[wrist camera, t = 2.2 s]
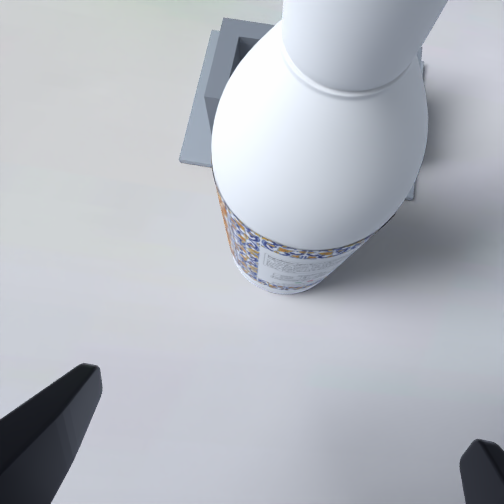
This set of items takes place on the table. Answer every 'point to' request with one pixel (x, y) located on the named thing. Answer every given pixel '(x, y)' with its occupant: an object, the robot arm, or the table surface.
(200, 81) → the gray square holder
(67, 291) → the table surface
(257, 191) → the bath foam
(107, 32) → the table surface
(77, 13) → the table surface
